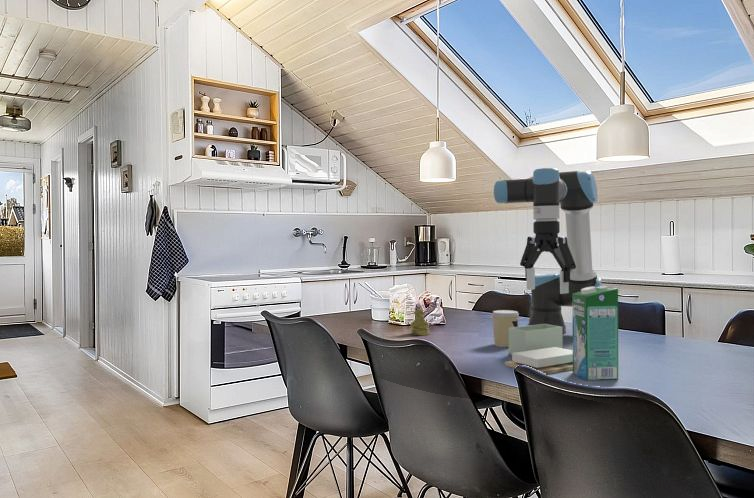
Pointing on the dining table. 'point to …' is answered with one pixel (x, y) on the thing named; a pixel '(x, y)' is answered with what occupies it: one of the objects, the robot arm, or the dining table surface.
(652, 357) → the dining table surface
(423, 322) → the olive green tiered cone
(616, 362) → the milk carton
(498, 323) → the coffee cup
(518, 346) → the box
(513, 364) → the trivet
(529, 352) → the lid
